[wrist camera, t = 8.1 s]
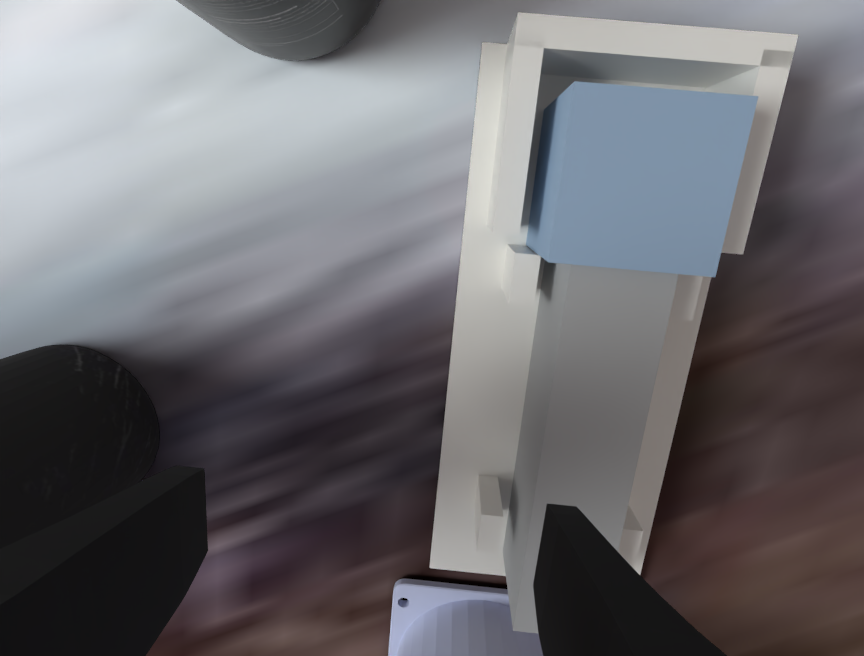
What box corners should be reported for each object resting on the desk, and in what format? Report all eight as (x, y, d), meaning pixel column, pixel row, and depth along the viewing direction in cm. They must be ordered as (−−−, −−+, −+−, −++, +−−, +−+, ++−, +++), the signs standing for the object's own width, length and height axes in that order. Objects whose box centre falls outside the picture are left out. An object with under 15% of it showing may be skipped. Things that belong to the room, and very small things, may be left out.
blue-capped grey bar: (590, 560, 21) (625, 655, 17) (485, 549, 21) (492, 640, 17) (679, 120, 17) (758, 96, 12) (543, 109, 17) (575, 81, 12)
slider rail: (631, 579, 22) (664, 651, 19) (430, 558, 22) (425, 625, 19) (751, 69, 17) (829, 37, 13) (481, 47, 17) (488, 10, 13)
